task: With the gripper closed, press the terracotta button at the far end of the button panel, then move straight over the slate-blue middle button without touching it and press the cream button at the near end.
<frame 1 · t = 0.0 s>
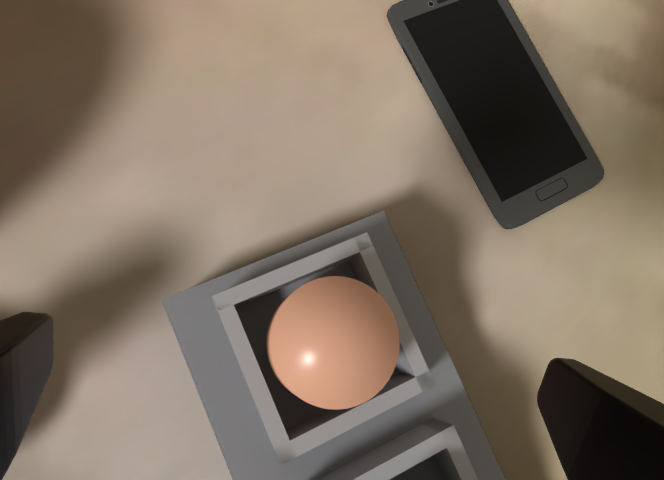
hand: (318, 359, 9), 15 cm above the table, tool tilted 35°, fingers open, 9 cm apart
terracotta button: (330, 341, 19), point 6 cm above the table, slide at 0.0 cm
cell phone: (489, 100, 29), on the table
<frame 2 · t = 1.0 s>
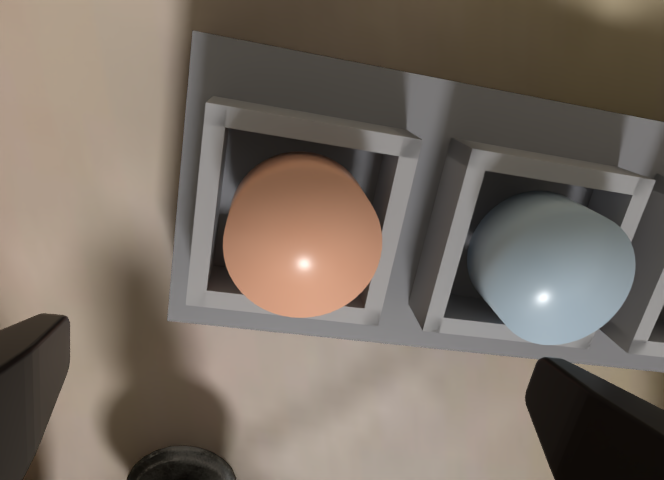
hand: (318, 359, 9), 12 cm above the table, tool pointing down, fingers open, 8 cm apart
slate button: (546, 266, 17), point 6 cm above the table, slide at 0.0 cm
terracotta button: (301, 232, 15), point 6 cm above the table, slide at 0.0 cm
button panel: (479, 213, 22), on the table
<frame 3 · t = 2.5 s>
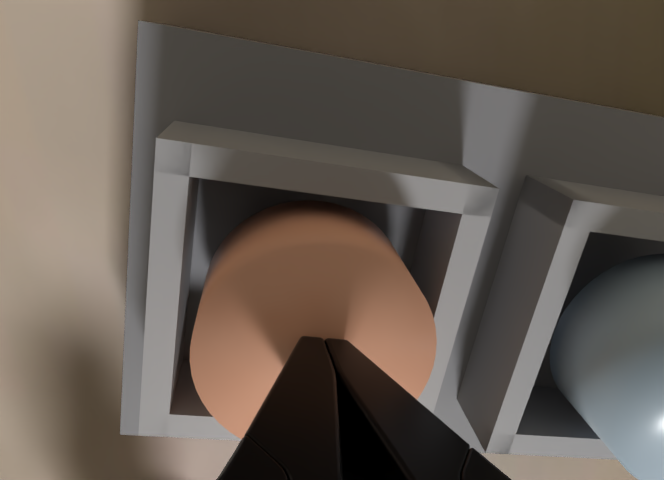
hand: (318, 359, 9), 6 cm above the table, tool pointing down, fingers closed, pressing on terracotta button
terracotta button: (310, 323, 10), point 5 cm above the table, slide at 0.5 cm, touching gripper
button panel: (543, 263, 17), on the table
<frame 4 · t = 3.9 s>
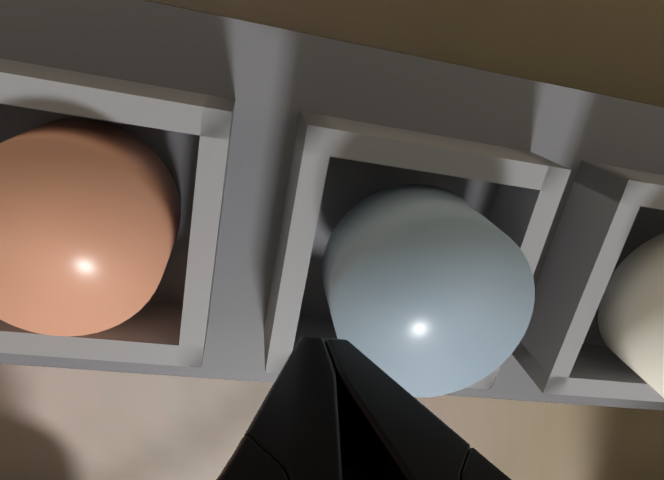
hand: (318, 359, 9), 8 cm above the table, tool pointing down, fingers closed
slate button: (420, 288, 12), point 6 cm above the table, slide at 0.0 cm
terracotta button: (74, 224, 12), point 4 cm above the table, slide at 1.3 cm
button panel: (370, 210, 17), on the table
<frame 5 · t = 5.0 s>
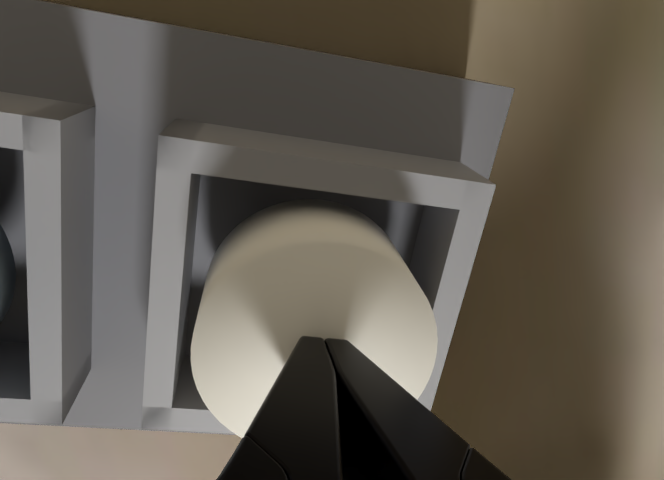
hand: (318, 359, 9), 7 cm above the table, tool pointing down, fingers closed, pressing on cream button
cream button: (311, 322, 10), point 5 cm above the table, slide at 0.3 cm, touching gripper
button panel: (0, 193, 14), on the table
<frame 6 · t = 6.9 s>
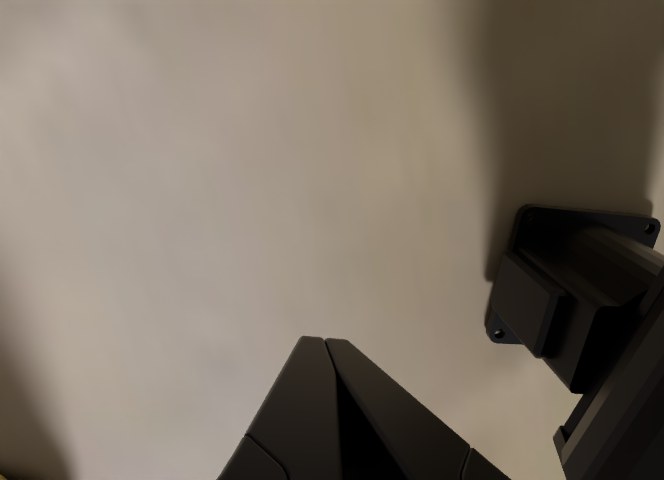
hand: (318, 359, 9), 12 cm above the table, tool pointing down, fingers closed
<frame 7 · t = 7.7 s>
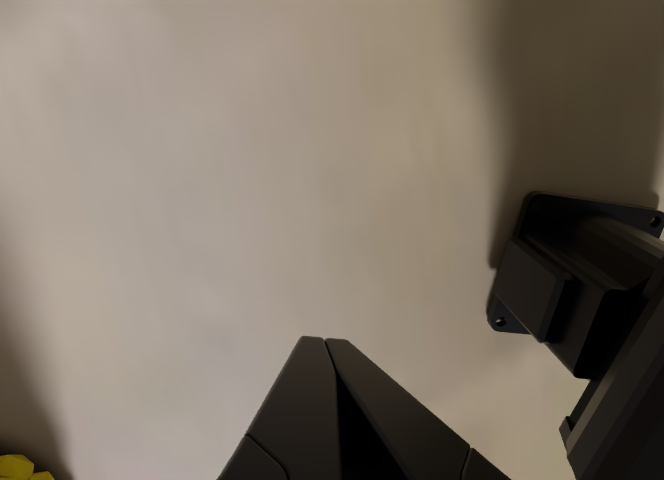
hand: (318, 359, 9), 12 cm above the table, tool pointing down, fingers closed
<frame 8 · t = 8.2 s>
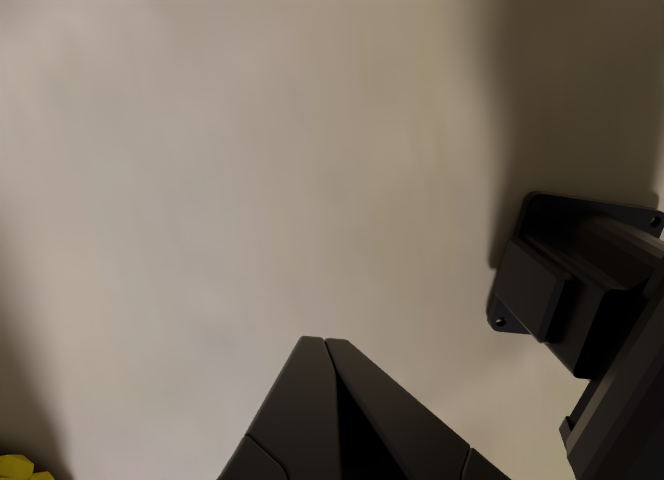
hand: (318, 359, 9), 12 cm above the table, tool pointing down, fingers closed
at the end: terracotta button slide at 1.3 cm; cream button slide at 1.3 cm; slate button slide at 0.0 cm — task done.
